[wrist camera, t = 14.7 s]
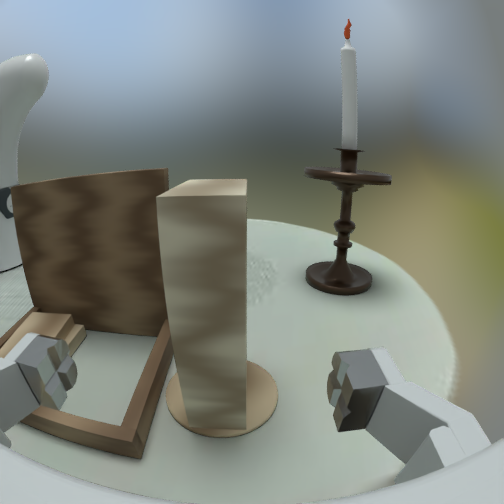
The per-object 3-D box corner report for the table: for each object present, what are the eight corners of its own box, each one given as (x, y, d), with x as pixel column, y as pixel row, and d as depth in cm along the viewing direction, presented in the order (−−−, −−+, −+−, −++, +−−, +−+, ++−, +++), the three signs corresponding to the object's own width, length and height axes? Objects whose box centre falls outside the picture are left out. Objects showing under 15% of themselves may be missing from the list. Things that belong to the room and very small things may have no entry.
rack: (-28, 396, 13) (-93, 223, 8) (44, 316, 27) (17, 185, 22) (141, 459, 13) (61, 197, 8) (181, 330, 27) (168, 167, 22)
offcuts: (-8, 384, 15) (-19, 363, 15) (42, 328, 25) (35, 308, 24) (38, 403, 15) (26, 381, 15) (86, 335, 25) (80, 314, 24)
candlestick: (392, 294, 34) (403, 18, 23) (313, 302, 33) (320, -6, 21) (356, 263, 44) (363, 40, 33) (290, 266, 43) (294, 27, 31)
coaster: (156, 431, 16) (154, 428, 15) (177, 358, 23) (177, 354, 23) (282, 437, 16) (282, 434, 16) (273, 360, 23) (273, 356, 23)
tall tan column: (189, 427, 16) (156, 196, 11) (201, 360, 22) (189, 179, 18) (246, 429, 16) (246, 195, 11) (246, 361, 23) (247, 179, 18)
